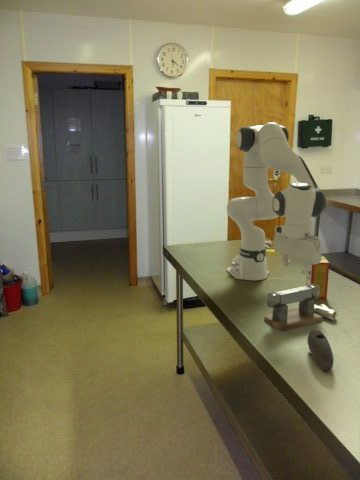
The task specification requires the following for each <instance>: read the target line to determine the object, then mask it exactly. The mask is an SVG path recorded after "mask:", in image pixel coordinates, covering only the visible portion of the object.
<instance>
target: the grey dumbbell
mask: <svg viewBox="0 0 360 480" xmlns="http://www.w3.org/2000/svg"><path fill="white" fill-rule="evenodd" d="M317 298H319V286H318V285H315V284H308V285H307V286H306V285H303V286H299V287H294V288H293V287H292V288H289V289H284V290H280V291H274V292H273V291H270V292H268V293H267V301H266V306H267V307H269V308H272V309H273V308H278V307H280V306H282V305H289V304H290V305H291V304H295V303H299V301H304V300H308V299H314V300H318V299H317Z"/></svg>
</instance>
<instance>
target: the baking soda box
mask: <svg viewBox="0 0 360 480" xmlns="http://www.w3.org/2000/svg"><path fill="white" fill-rule="evenodd" d="M329 272H330V262H329V261H328V260H327V258H326V257H325V256H323V255H321V262H320V263H318V264H313V265H311V266H310V268H309V271H308V274H306V281H305V282H306V283H305V286H307V285H308V284H315V285H318V286H319V298H317V299H316V300H327V298H328V287H329V286H328V283H329Z"/></svg>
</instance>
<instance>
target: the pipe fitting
mask: <svg viewBox="0 0 360 480" xmlns="http://www.w3.org/2000/svg"><path fill="white" fill-rule="evenodd" d="M314 313H316V314H318V315H320V316H322V318H326V319H329V320H332V321H335V319H336V316H337V311H336V310H334V309H330V307H328V306H327V305H326V304H325V303H321V304H319V305H318V304H315V303H314Z"/></svg>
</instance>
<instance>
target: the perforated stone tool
mask: <svg viewBox="0 0 360 480" xmlns="http://www.w3.org/2000/svg"><path fill="white" fill-rule="evenodd" d="M307 345H308V350H309V352H310V354H311V355H312V356H311V357H313V359H314V361H316V363H317V364H318V366H319V367H320V368H321V369H322V370H323V371H324V372H326V373H329V372H331V371H332V369H333V367H334V354H333V351H332V347H331V344H330V342H329V340H328V339H327V337H326V336H325V334H324V333H323V331H321V330H317V329H313V330H310V331H309V333H308V336H307Z"/></svg>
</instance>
